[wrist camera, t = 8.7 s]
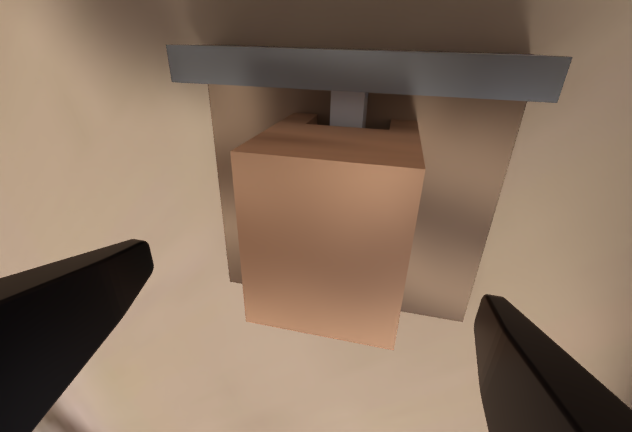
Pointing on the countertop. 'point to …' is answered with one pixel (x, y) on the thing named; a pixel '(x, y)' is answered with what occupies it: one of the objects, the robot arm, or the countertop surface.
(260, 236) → the tan cube
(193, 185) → the countertop surface
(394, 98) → the board
